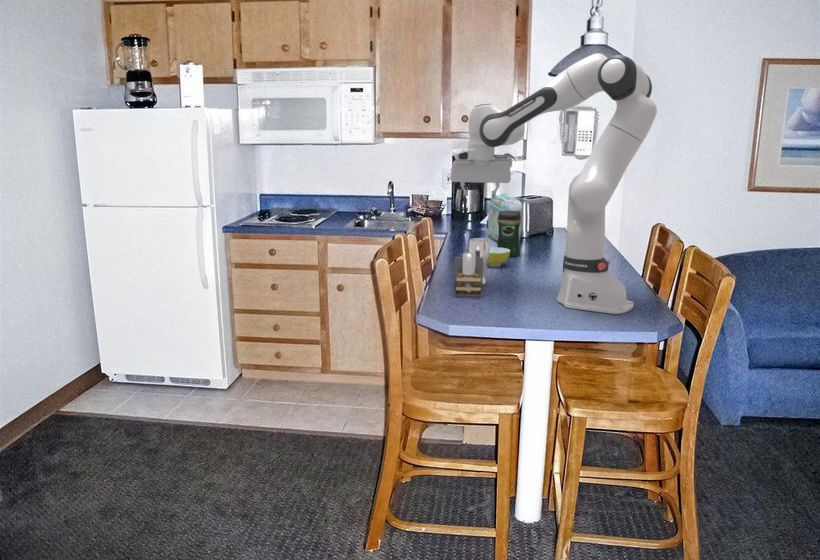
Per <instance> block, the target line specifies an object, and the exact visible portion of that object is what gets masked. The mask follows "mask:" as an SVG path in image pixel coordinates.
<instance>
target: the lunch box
mask: <svg viewBox="0 0 820 560" xmlns="http://www.w3.org/2000/svg"><path fill="white" fill-rule="evenodd" d="M500 211H519V212H520V215H521V223H520V226H519V242H520V241H521V235H522V229H523V228H522V227H523V226H522V225H523V204H522V202H521V200H519V199H518V198H515V197H513V196H509V195H508V194H507V193H504V192H502V193H501V194H496V196H491V198H490V201H489V207H488V215H487V220H486V229H487V236H488V237H489V238H490V239H492V240H493V241H496V242H498V233H499V225H498V222H497V219H498V214H499V212H500Z"/></svg>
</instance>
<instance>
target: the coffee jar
mask: <svg viewBox="0 0 820 560" xmlns="http://www.w3.org/2000/svg"><path fill="white" fill-rule="evenodd" d="M497 222H498V225H499V233H498V241H496V242H497V244H496V247H498V248H506V249H509V250H510V254H509V257H510V258H512V257H519V256H520V253H521V246H520V241H519V226H520V223H521V215H520V212H519V211H500V212H499V214H498V219H497ZM509 257H508V258H509Z"/></svg>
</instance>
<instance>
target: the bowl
mask: <svg viewBox="0 0 820 560" xmlns="http://www.w3.org/2000/svg"><path fill="white" fill-rule="evenodd" d="M489 248H490V252H489V260H488V266H489V267H493V268H499V267H501V266H502V264H503V263H505V262H506V261H508V259H509V254H510V250H509V249H506V248H498V247H497V246H496V247H492V246H491V247H490V246H489Z"/></svg>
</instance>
